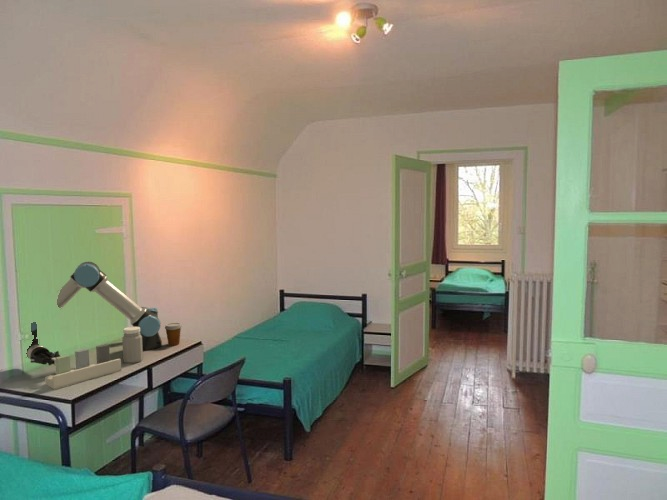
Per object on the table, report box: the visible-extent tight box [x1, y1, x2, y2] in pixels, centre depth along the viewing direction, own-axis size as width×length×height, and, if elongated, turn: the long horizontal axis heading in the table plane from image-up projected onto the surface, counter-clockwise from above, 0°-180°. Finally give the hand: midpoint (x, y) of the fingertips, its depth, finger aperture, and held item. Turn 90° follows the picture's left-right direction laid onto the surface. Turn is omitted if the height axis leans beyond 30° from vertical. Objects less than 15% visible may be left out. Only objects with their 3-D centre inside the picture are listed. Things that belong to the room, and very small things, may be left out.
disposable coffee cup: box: [164, 322, 182, 346], centre depth 282 cm, size 10×10×12 cm
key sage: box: [55, 354, 71, 375], centre depth 218 cm, size 3×5×12 cm, turn 142°
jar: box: [121, 326, 144, 365], centre depth 250 cm, size 10×10×18 cm
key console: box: [44, 358, 122, 390], centre depth 227 cm, size 10×31×6 cm, turn 142°
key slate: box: [74, 348, 90, 370], centre depth 228 cm, size 3×5×12 cm, turn 142°
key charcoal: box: [95, 343, 111, 364], centre depth 235 cm, size 3×5×12 cm, turn 142°
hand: (59, 363), depth 220 cm, fingers closed
